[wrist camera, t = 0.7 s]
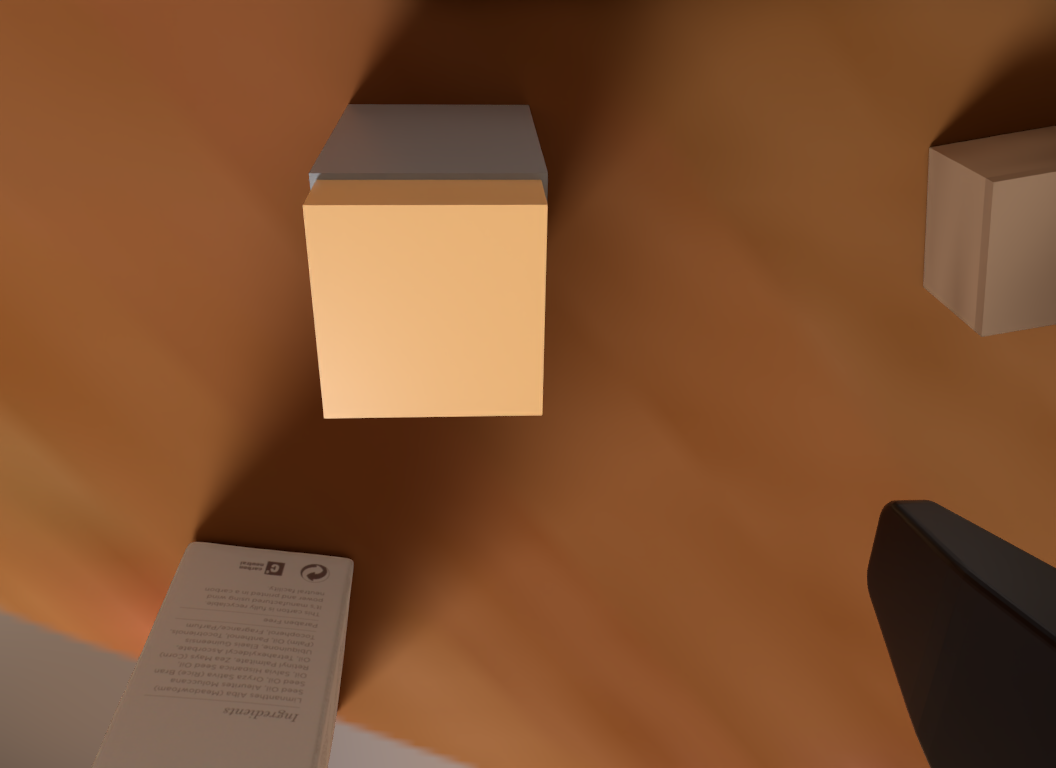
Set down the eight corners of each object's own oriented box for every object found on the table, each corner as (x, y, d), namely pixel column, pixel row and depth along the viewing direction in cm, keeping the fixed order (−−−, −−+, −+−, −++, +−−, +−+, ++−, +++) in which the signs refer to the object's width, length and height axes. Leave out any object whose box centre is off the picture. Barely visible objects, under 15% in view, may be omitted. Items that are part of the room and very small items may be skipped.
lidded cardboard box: (528, 105, 19) (555, 198, 13) (526, 273, 20) (548, 420, 15) (348, 103, 19) (294, 198, 13) (360, 273, 20) (317, 424, 14)
